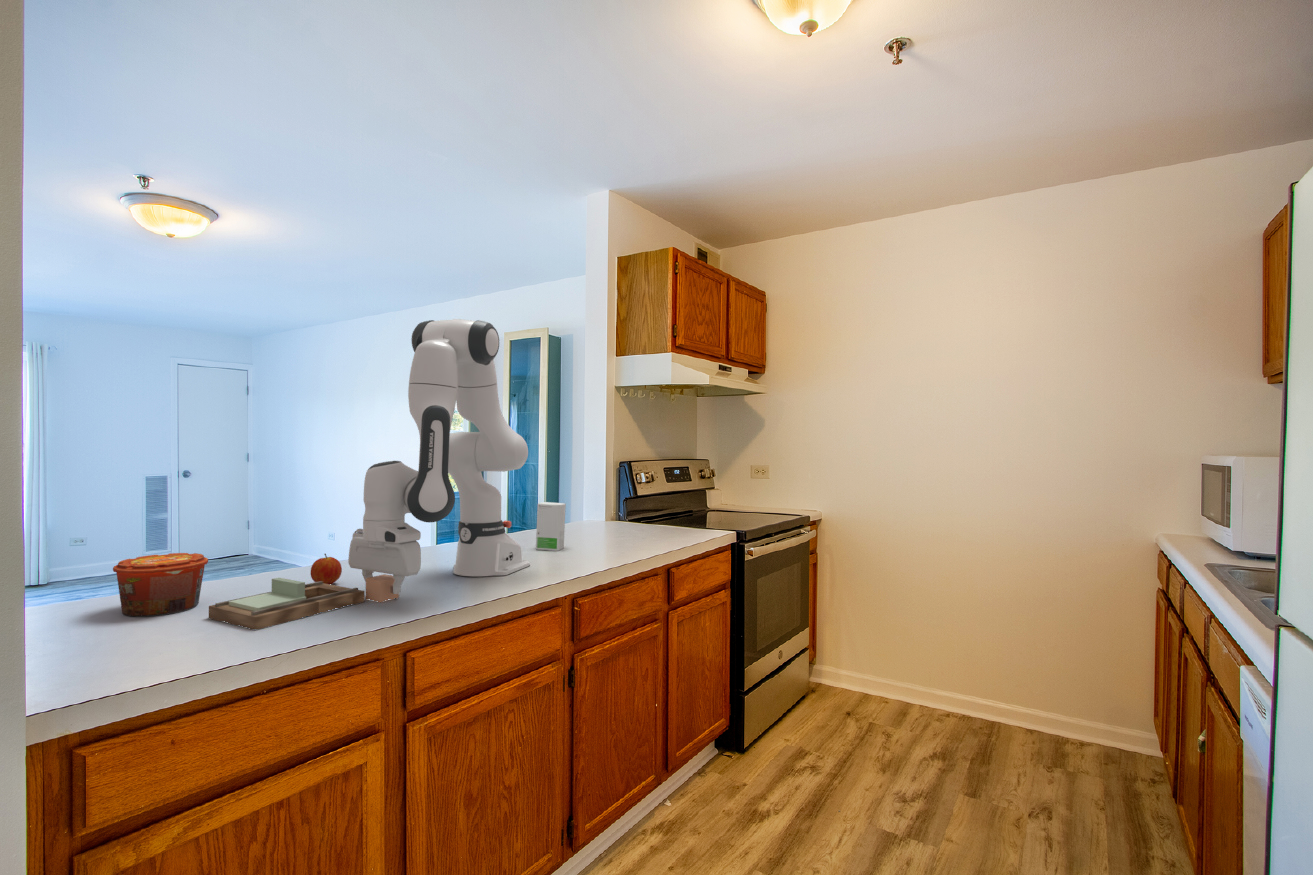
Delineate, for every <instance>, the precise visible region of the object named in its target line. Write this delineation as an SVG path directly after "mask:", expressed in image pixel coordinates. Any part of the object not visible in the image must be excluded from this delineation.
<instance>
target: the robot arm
mask: <svg viewBox="0 0 1313 875" xmlns="http://www.w3.org/2000/svg"><path fill="white" fill-rule="evenodd" d="M410 340H411V347H412V350H413V351H414V354H413V358H412V362H411V367H410V371H409V372H410V373H409V381H408V389H407V394H408V395H407V396H408V400H407V401H408V408H409V413H410V415H411V417H412V419H413V420H414V422H415V424H416V426H417V430H418V434H419V451H418V452H419V455H418V470H416V469H414V468H412V467H410V466H408V465H406V464H404V463H403V462H402V461H400V460H390V461H387V460H386V461H382V462H378V463H375V464H372V465H371V466H369V467H368V469H367V470H366V472H365V475H364V476H365V477H364V481H363V482H364V484H363V503H364V514H363V517H362V528H357V529H356V530H355V531H354V532H353V533H352V536H351V537H352V539H351V541H350V544H349V550H348V562H347V563H348V565H349V567H350V569H356V570H360V571H361V570H362V572H361V574H362V577H363V580H364V582H365V583H366V578H370V577H374V574H375V573H381V574H386V575H392V576H393V579H395V581H394V583H393V585H392V586H390V593H392V594H398V593H399V594H400V593H401V590H402V588H401V587H402V584H403V582H404V580H405V579H406V577H411V576H414V575H415V576H416V575H417V574H419V572H420V571H421V566H422V565H421V564H422V552H421V551H422V549H421V545H420V543H419V542H418V541H419V540H421V538H422V537H421V536H422V535H421V534H422V533H421V531H420V530H419V529H416V528H415V527H413V526H412V525H410V524H409V523H407V522H406V521H405V519H406V518H405V517H406V514H411V515H412V516H413V517H414V518H416V519H417V520H418V521H420V522H424V523H437V522H439V521H442V520H444V519H445V518H446V517H448V516H449V515H450V514H451V512H452V510H453V509H454V507H455V504H456V503H455V502H456V495H455V492H454V491H455V490H454V487H453V485H452V483H451V480H450V476H451V478H452V480H453V481H454V483H455V486H456V488H457V490H458V495H459V511H460V512H459V515H460V516H459V518H460V520H459V521H458V526H457V530H458V531H457V534H458V536H459V539H458V542H457V547H456V548H457V549H456V555H455V563H454V564H453V571H452V573H453V574H454V575H457V576H462V577H489V576H490V577H491V576H508V575H509V574H510V575H511V574H512V573H515V572H517V571H520V570H523V569H525V568H527V567H529V566H531V562H530V561H529V560H525V559H523V558H522V555H523V554H522V548H521V545H520V544H519V543H518V542H516V540H514V539H513V538H512V537H511V536H509V534H507V533H506V528H507V529H510V528H511V527H512V526H513V524H512V521H510V520H504V521H503V519H502V494H501V492H500V491H499V489H498V488H496V487H495V486H493V485H492V484H490V483H488V482H486V481H485V479H484V477H483V474H482V472H497V473H498V472H503V473H505V472H510V471H515V470H519V469H521V468H522V467H523V466H524V465H525V463H526V462H527V460H528V456H529V448H528V444H527V441H526V440H525V438H524V437H523V436H521V434H519V433H518V432H516V431H515V430H514V429H513V428H512V427H511V426H510V425H509V423H508V422H507V421H506V420H505V417H504V416H503V413H502V409H501V406H500V400H499V392H498V391H499V389H498V381H497V380H498V378H497V371H496V366H495V361H494V359H495V358H496V356H497V354H498V352H499V348H500V337H499V333H498V330H497V329H496V328H495V326H494V325H493V324H492V323H490V322H487V321H485V320H480V319H478V320H471V319H470V320H469V319H461V318H453V319H442V320H441V319H440V320H431V319H430V320H426V321H422V322H419V323H418V324H417V325H416V326H415V328H414V329H413V331H412V333H411V339H410ZM455 409H457V412H458V414H459V415H460V416H461V417H462V418H463V419H464V420H466V421H468V422H470V423H472V424H473V425H474V426H475V427H476V428H477V429H478V431H474V432H473V431H456V432H451V429H452V423H453V418H454V415H455ZM449 475H450V476H449Z"/></svg>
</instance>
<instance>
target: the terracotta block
mask: <svg viewBox="0 0 1313 875" xmlns="http://www.w3.org/2000/svg"><path fill="white" fill-rule="evenodd" d="M394 581H395V579H393V574H387V573H382V574H379V575H375V576H374V575H373V577H370V578H366V582H365V600H366V599H370V600H374V601H373V602H375V601H378V602H377V603H380V602H381V603H384V602H383V601H385V600H388V599H392V600H395V599H394V598H396V599H399V598H400V593H398V594H392V593H390V586H392V585H393V583H394ZM398 597H399V598H398ZM385 602H386V601H385Z"/></svg>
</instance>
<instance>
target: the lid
mask: <svg viewBox="0 0 1313 875" xmlns="http://www.w3.org/2000/svg"><path fill="white" fill-rule="evenodd" d="M305 584H306V581H305V582H304V581H300V580H294V579H289V578H285V577H284V578H283V577H275V578H271V591H269V592H270V593H267V592H265V593H266V594H262V593H260V594H261V595H258V594H255V595H256V596H253V595H251V596H252V597H248V596H246V597H247V598H243V597H241V598H242V599H239V598H236V599H237V600H234V599H232V600H233V601H229V600H228V601H229V605H230V606H234V607H238V608H243V609H247V610H251V611H258V610H262V609H266V608H270V607H275V606H279V605H283V604H288V603H292V602H296V601H300V600H305V599H306V597H305Z"/></svg>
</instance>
